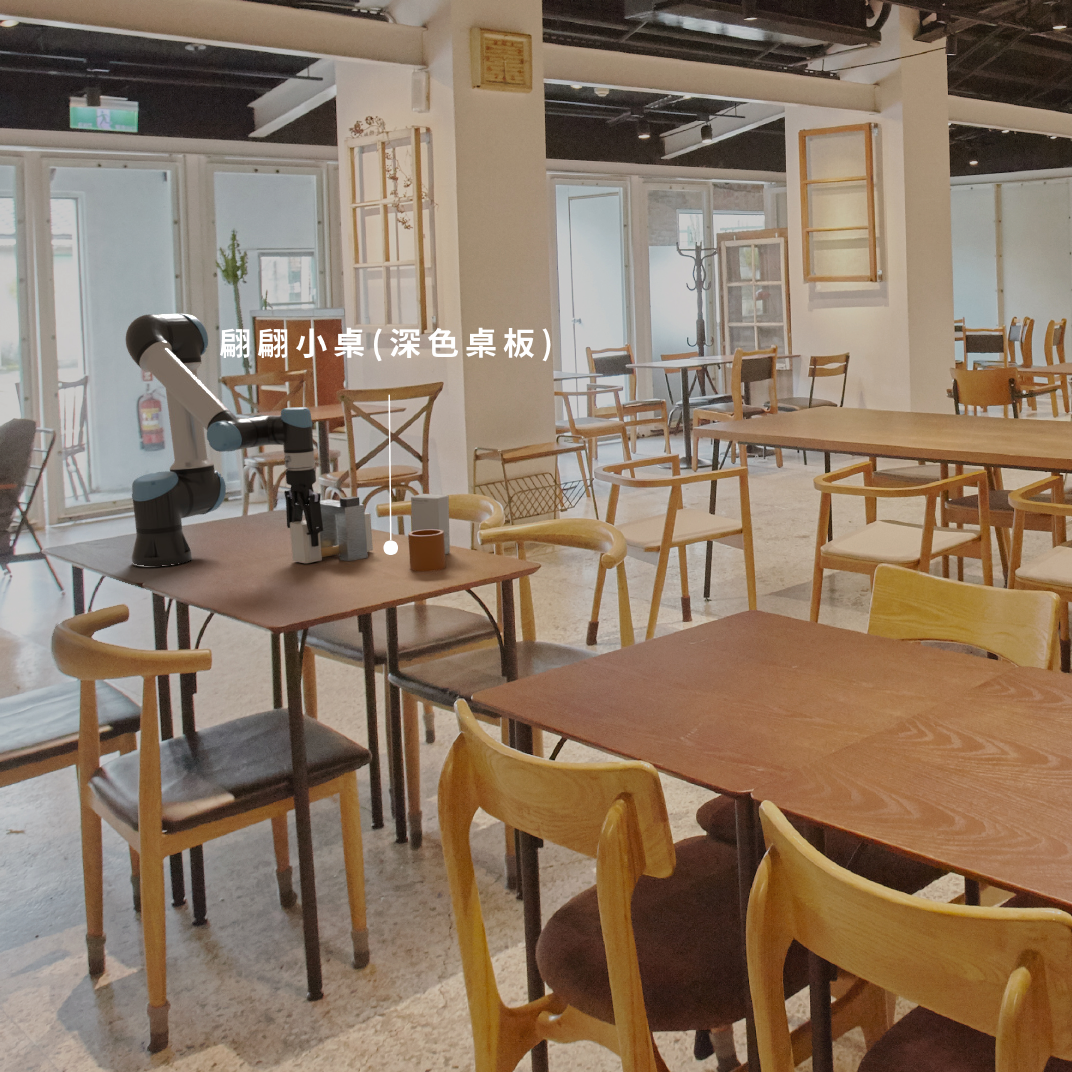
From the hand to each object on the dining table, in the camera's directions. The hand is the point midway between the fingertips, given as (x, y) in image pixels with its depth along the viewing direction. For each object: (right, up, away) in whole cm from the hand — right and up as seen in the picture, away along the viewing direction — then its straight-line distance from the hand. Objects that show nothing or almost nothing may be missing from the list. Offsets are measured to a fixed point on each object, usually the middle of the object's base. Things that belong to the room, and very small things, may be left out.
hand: (307, 557), depth 314 cm
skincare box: (+32, 0, +4) cm, 32 cm away
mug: (+33, -2, -11) cm, 35 cm away
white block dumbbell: (+6, 0, +5) cm, 8 cm away
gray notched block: (+7, 0, +7) cm, 10 cm away
